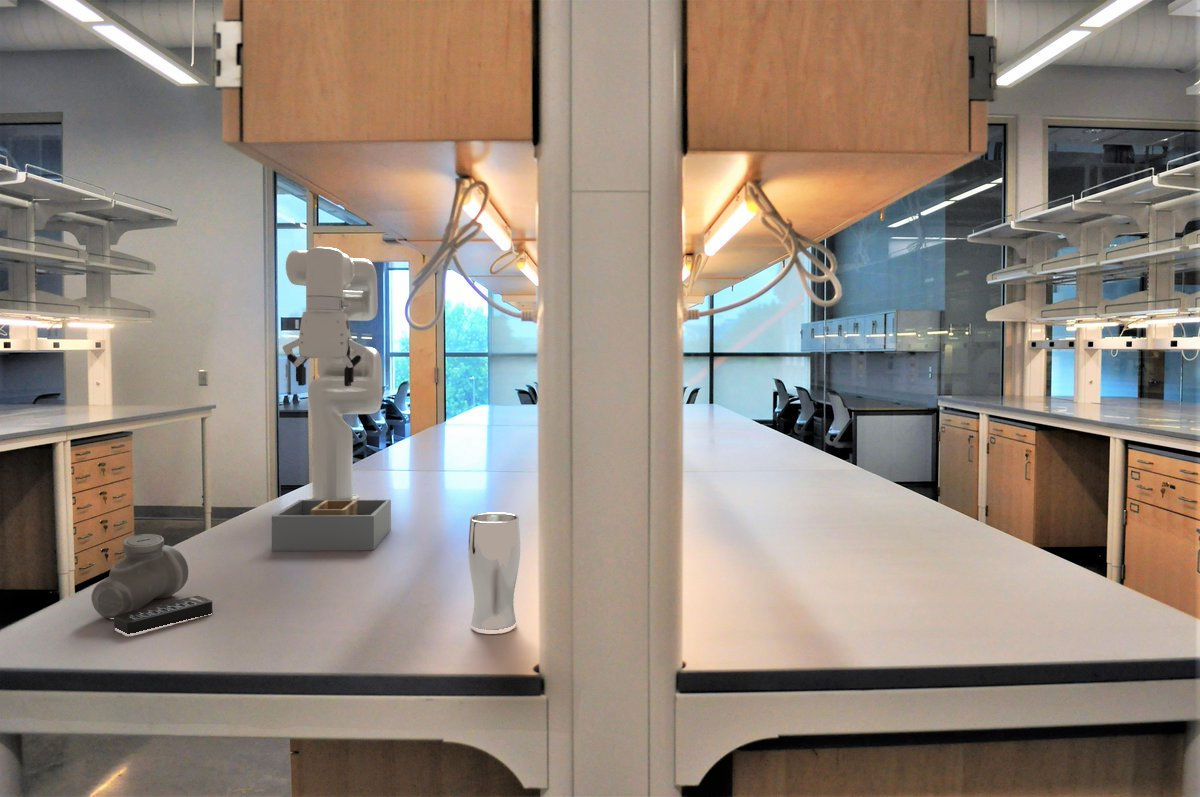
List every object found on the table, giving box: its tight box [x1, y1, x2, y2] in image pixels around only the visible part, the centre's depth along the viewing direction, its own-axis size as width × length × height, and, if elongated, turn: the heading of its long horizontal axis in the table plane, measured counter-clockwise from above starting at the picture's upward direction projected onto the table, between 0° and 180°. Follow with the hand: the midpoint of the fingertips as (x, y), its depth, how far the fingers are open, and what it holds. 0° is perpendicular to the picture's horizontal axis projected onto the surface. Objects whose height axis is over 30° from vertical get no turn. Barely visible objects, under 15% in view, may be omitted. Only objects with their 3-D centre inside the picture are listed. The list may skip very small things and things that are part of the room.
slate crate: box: [271, 499, 392, 552], centre depth 147 cm, size 17×19×6 cm
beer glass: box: [467, 512, 521, 630], centre depth 100 cm, size 7×7×15 cm
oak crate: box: [311, 500, 357, 515], centre depth 147 cm, size 10×6×6 cm, turn 5°
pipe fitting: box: [91, 533, 189, 619], centre depth 105 cm, size 12×8×10 cm
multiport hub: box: [113, 595, 213, 634], centre depth 100 cm, size 4×11×2 cm, turn 146°
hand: (325, 385), depth 160 cm, fingers open, 9 cm apart
